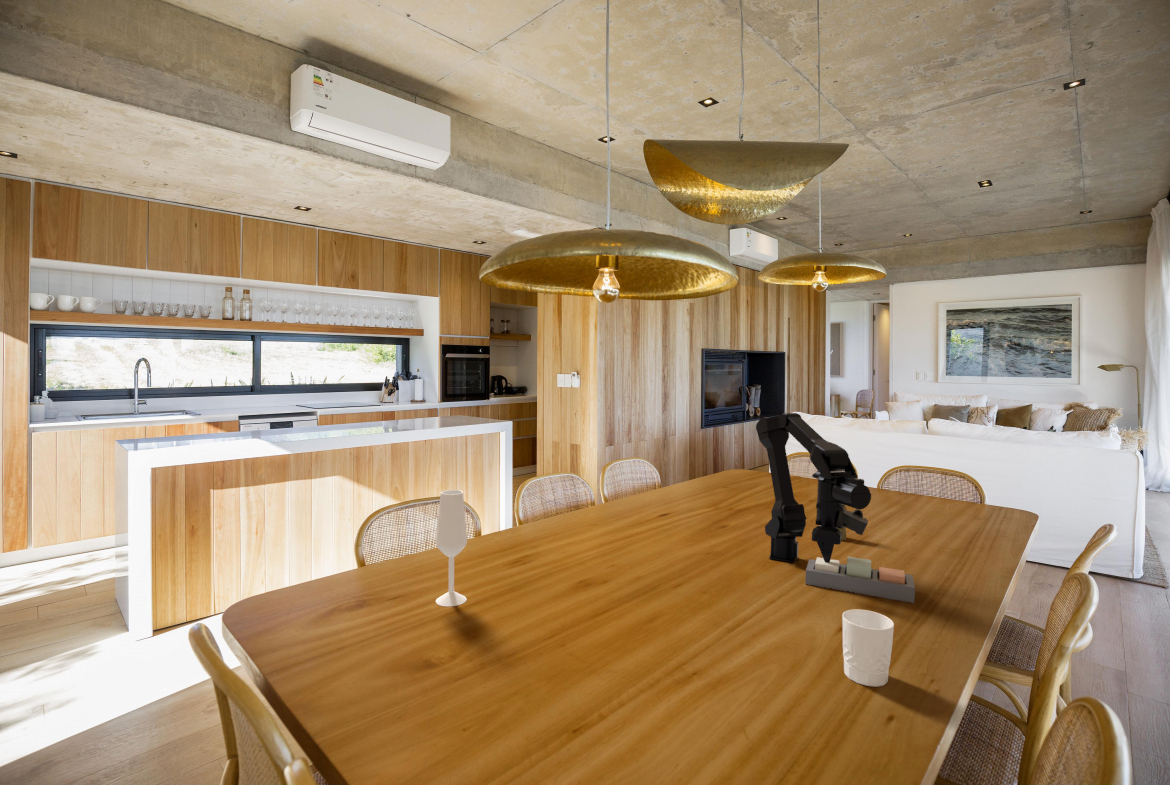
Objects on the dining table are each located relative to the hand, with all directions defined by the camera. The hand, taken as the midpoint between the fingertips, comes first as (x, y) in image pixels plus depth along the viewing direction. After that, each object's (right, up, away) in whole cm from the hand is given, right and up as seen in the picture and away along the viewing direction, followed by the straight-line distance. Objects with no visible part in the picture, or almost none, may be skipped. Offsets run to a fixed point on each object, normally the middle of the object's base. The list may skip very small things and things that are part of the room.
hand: (827, 562), depth 142 cm
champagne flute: (-89, -4, -15) cm, 90 cm away
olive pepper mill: (+18, -4, +37) cm, 41 cm away
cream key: (0, -4, 0) cm, 4 cm away
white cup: (-12, -7, -43) cm, 45 cm away
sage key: (+6, -3, -3) cm, 7 cm away
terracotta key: (+12, -5, -6) cm, 15 cm away
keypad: (+6, -5, -3) cm, 8 cm away
